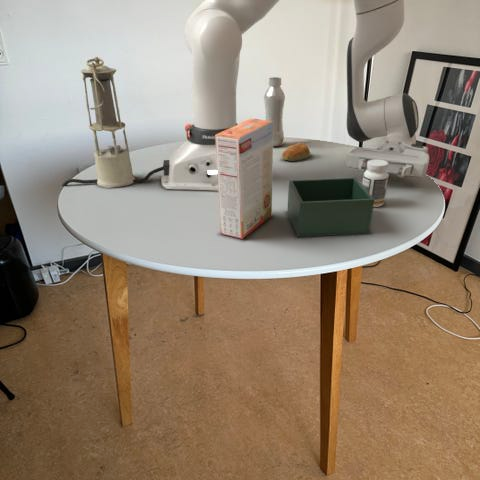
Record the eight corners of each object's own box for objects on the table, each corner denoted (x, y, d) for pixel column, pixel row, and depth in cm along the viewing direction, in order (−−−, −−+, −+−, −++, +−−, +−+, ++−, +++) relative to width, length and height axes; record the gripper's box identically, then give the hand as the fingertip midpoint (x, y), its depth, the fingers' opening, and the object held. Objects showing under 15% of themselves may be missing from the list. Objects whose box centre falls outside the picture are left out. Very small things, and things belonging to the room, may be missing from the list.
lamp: (137, 174, 130) (120, 53, 113) (130, 191, 120) (109, 61, 102) (101, 175, 130) (78, 54, 112) (90, 192, 120) (62, 61, 102)
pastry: (294, 164, 136) (295, 151, 134) (276, 160, 140) (276, 147, 138) (311, 156, 142) (312, 143, 140) (293, 152, 146) (294, 140, 143)
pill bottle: (384, 200, 113) (391, 159, 107) (382, 209, 108) (390, 167, 103) (361, 197, 114) (367, 157, 108) (358, 206, 110) (364, 164, 104)
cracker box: (249, 211, 108) (249, 117, 96) (272, 216, 106) (275, 120, 93) (218, 234, 99) (213, 132, 86) (242, 240, 96) (241, 136, 84)
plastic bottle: (284, 148, 149) (287, 79, 138) (263, 148, 150) (264, 80, 138) (283, 142, 155) (285, 76, 143) (263, 142, 155) (264, 76, 143)
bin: (297, 237, 97) (300, 203, 93) (287, 212, 108) (288, 180, 103) (368, 233, 98) (374, 199, 94) (351, 209, 109) (355, 177, 104)
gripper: (355, 139, 124) (341, 152, 114) (434, 148, 117) (426, 163, 107) (352, 162, 128) (338, 177, 118) (428, 172, 121) (420, 189, 111)
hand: (381, 171), depth 113 cm, fingers open, 8 cm apart
